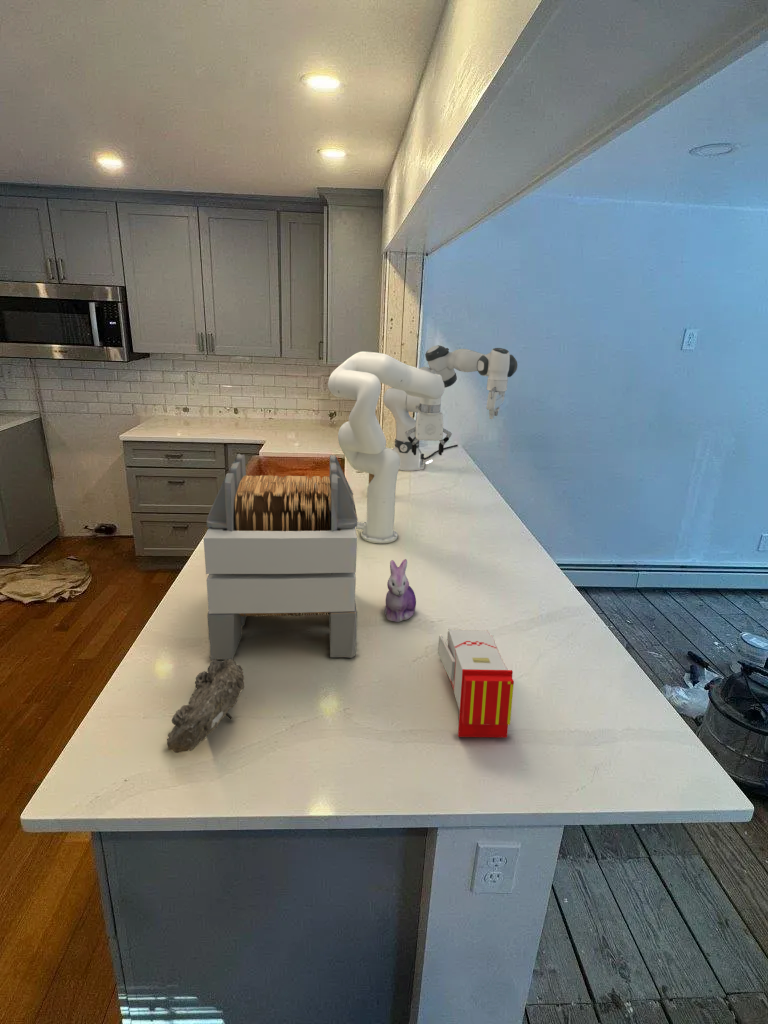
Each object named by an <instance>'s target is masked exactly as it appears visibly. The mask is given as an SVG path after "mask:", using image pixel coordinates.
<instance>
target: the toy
mask: <svg viewBox="0 0 768 1024" xmlns="http://www.w3.org/2000/svg"><path fill="white" fill-rule="evenodd" d="M446 640H447V643H446V641H445V639H444V636H443V635H442V634H439V637H438V646H437V656H438V657H439V659H440V661H441V663H442V666H443V668H444V670H445V672H446V674H447V677H448V679H449V681H450V684H451V687H452V690H453V693H454V697H455V701H456V705H457V708H458V711H459V714H458V715H459V716H458V730H457V731H458V732H457V737H458V738H508V731H509V726H510V725H511V717H512V707H513V697H514V696H513V695H514V684H515V680H514V679H513V673H514V671H513V670H512V669H508V667H507V665H506V662H505V661H504V659H503V658H502V655H501V653H500V651H499V649H498V647H497V643H496V639H495V637H494V635H493V634H491V632H490V631H489V629H467V628H466V629H465V628H463V629H461V628H460V629H459V628H448V630H447V639H446Z"/></svg>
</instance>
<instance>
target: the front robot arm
mask: <svg viewBox="0 0 768 1024" xmlns="http://www.w3.org/2000/svg"><path fill="white" fill-rule="evenodd" d="M382 384H383V385H385V386H388V387H389V388H395V389H398V390H402V391H405V392H406V394H408V395H410V396H414V397H420V404H419V405H416V409H419V410H420V411H419V412H418V413H417V412H416V418H415V421H416V423H415V427H414V428H412V429H410V430H408V431H406V432H405V434H406V436H407V438H408V440H409V441H410V442H411V443H412V452H413V454H414V455H416V447H417V445H416V442H417V441H418V440H419V441H423V442H424V441H426V442H427V441H431V442H432V441H433V442H434V441H435V442H437V441H439V443H438V452H437V453H438V455H439V456H442V455H443V453H444V450H445V449H444V448H445V445H446V443H448V442H449V441H450V439H451V437H452V435H453V433H452V432H451V431H449V430H448V429H445V428H444V415H443V412H441V405H442V396H443V395H444V392H445V388H444V387H445V386H444V382H443V380H442V376H441V375H439V374H433V373H430V372H428V371H425V370H421V369H419V367H416V366H413V365H409V364H406V363H404V362H402V361H401V360H399V359H396V358H395V357H394V356H391V355H389V354H387V353H383V352H373V351H365V350H364V351H363V350H362V351H358V352H356V353H354V354H353V355H351V356H350V357H348V358H347V359H346V360H344V361H343V362H342V363H340V365H339V366H337V367H336V368H335V369H334V370H333V371H332V372H331V373H330V375H329V377H328V380H327V387H328V391H329V392H330V394H331V395H332V396H334V397H336V398H339V399H343V400H344V399H345V400H350V401H351V400H352V401H355V402H354V405H353V408H352V409H351V411H350V412H349V415H348V421H345V422H343V424H341V425H340V427H339V429H338V433H337V442H338V445H339V448H340V449H341V451H342V453H343V455H344V456H345V458H346V460H347V461H348V463H349V466H351V468H353V469H354V470H356V471H358V472H362V473H366V474H369V473H370V474H373V475H374V478H373V479H372V480H371V482H370V483H369V482H368V485H367V491H366V519H365V520H366V521H364V522H362V521H357V526H356V527H355V529H356V530H361V534H360V535H361V538H362V539H363V540H364V541H366V542H368V543H373V544H389V543H393V542H395V541H397V540H398V537H399V534H398V532H397V531H396V530H395V528H394V527H395V510H396V509H395V508H396V507H395V506H396V491H397V490H396V489H397V481H398V480H397V479H398V474H399V471H400V470H399V467H400V456H399V455H398V453H397V452H396V451H394V450H392V449H393V448H389V447H387V439H386V435H385V433H384V430H383V428H382V426H381V424H380V422H379V420H378V417H377V415H376V410H377V405H378V402H379V399H380V396H381V392H382ZM413 432H415V437H414V438H413V439H412V438H411V437H410V434H411V433H413ZM444 434H446V436H445V437H444ZM443 449H444V450H443Z"/></svg>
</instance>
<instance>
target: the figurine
mask: <svg viewBox="0 0 768 1024" xmlns="http://www.w3.org/2000/svg"><path fill="white" fill-rule="evenodd" d="M407 567H408V559H406V558H404V559H403V560H402V561H401V563H400V565H399V566H398V565H397V563H396V562H395V561H394V560H393V559H391V560H390V561H389V570H390V576H389V578H388V579H387V589H388V591H387V592H386V594H385V595H386V596H385V607H384V615H385V616H386V620H387V621H391V622H395V623H400V622H402V621H406V620H409V619H410V618H411V617H413V616H414V615H415V610H416V606H417V597H416V593H415V591H414V590H413V587H411V586H410V582H409V579H408V577H407V574H406V571H407Z"/></svg>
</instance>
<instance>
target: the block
mask: <svg viewBox="0 0 768 1024" xmlns="http://www.w3.org/2000/svg"><path fill="white" fill-rule="evenodd" d="M373 478H374V475H373V474H370V473H368V484H369V483H370V482H371V480H372V479H373Z"/></svg>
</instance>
